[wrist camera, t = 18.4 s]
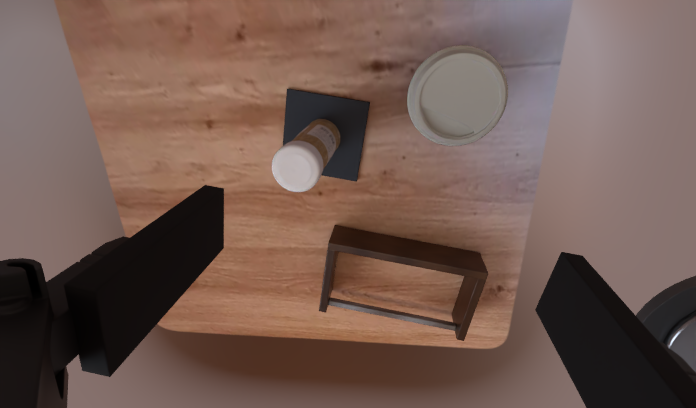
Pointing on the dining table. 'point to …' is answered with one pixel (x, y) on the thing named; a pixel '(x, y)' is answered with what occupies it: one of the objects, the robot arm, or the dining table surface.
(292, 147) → the spice jar
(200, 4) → the dining table surface
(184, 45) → the dining table surface
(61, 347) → the robot arm
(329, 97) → the mat
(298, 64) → the dining table surface
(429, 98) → the coffee cup
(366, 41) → the dining table surface
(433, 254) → the spice rack
